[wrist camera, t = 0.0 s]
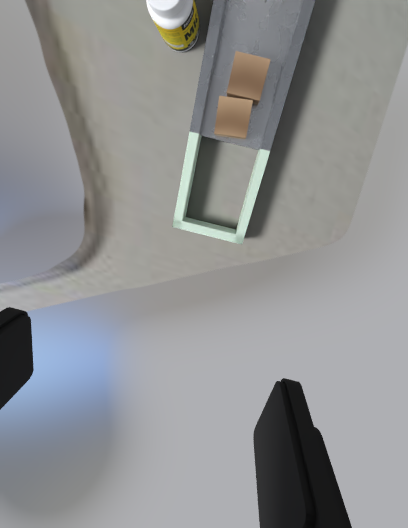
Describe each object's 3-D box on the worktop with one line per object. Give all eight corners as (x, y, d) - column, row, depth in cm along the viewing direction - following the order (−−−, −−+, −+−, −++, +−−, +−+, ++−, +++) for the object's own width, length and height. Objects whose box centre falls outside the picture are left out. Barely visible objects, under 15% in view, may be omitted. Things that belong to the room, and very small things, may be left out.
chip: (220, 100, 32) (219, 95, 30) (251, 104, 32) (252, 100, 30) (215, 135, 33) (214, 133, 31) (245, 139, 33) (246, 137, 31)
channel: (222, -22, 28) (221, -42, 26) (312, -1, 28) (321, -19, 25) (193, 134, 34) (189, 131, 32) (267, 152, 34) (270, 151, 31)
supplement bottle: (195, 58, 31) (182, 23, 24) (158, 47, 31) (133, 9, 24) (205, 8, 29) (194, -47, 22) (166, -3, 29) (142, -62, 22)
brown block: (235, 58, 30) (235, 50, 28) (268, 66, 30) (270, 59, 28) (227, 97, 32) (226, 92, 30) (257, 104, 31) (259, 100, 29)
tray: (193, 134, 34) (189, 131, 32) (267, 152, 34) (270, 151, 31) (176, 222, 39) (172, 226, 36) (241, 238, 39) (242, 244, 36)
